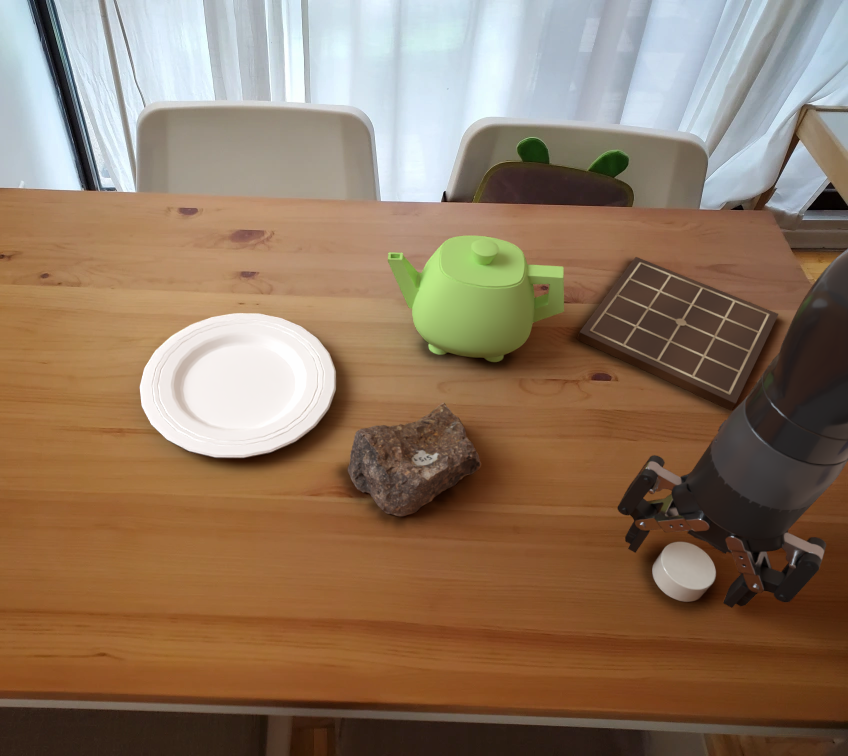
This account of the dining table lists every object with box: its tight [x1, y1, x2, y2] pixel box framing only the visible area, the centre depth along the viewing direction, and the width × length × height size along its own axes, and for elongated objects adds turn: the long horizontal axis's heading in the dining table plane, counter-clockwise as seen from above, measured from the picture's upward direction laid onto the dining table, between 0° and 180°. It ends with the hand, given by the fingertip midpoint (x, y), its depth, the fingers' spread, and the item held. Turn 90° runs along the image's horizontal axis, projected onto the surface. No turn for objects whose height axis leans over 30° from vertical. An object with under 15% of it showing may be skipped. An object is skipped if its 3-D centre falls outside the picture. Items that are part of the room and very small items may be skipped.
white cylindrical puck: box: [651, 541, 717, 603], centre depth 63 cm, size 5×5×2 cm
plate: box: [139, 312, 337, 459], centre depth 77 cm, size 21×21×2 cm
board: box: [576, 256, 779, 411], centre depth 86 cm, size 18×18×1 cm
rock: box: [347, 402, 482, 517], centre depth 69 cm, size 13×8×6 cm, turn 120°
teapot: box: [387, 235, 565, 363], centre depth 81 cm, size 20×13×13 cm
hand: (681, 570), depth 63 cm, fingers open, 8 cm apart
